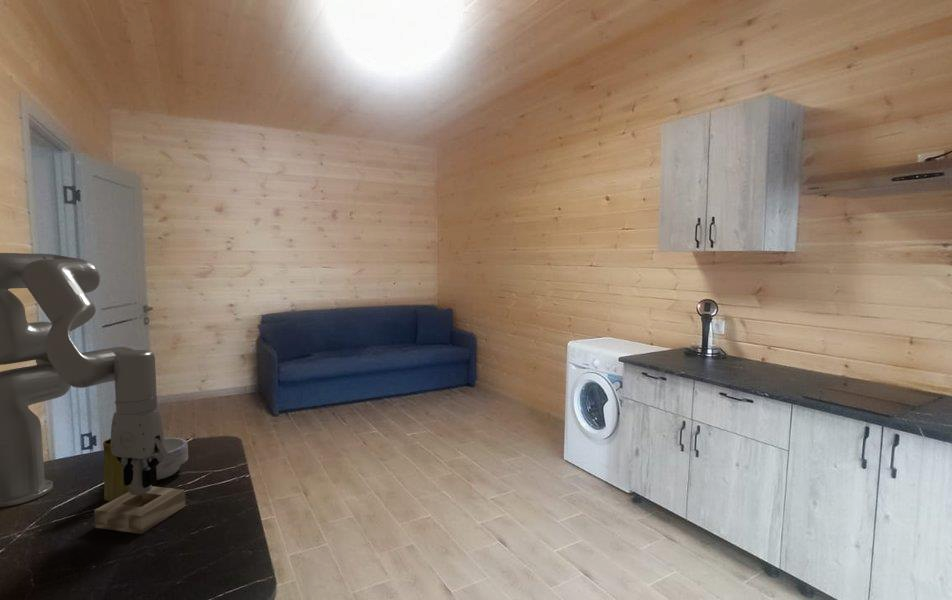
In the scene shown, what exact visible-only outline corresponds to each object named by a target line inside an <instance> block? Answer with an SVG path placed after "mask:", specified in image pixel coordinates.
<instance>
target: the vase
mask: <svg viewBox="0 0 952 600" xmlns="http://www.w3.org/2000/svg"><path fill="white" fill-rule="evenodd" d="M102 445H103V481H104V482H103V484H104V488H103V489H104V491H103V494H104V495H103V500H104V501H106V502H111V501H113V500H114V499H116V498H118V497H120V496H122V495H124V494H126V493H128V492H129V490H130V489H129V486H130V485H128V486H126V485H124V473H123V469H124V468H121V466H120V465H121V463H120V462H119V461H118V459H117V457H115V456H114V455H112V453H111V437H110V438H108V439H105V440H104V441H103V442H102Z"/></svg>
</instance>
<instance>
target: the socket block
mask: <svg viewBox="0 0 952 600" xmlns="http://www.w3.org/2000/svg"><path fill="white" fill-rule="evenodd" d="M185 507H186V490H185V489H179V488H173V487H172V488H170V487H161V486H153V485H152V488H151V490H150V491H149V492H146V493H144V494H140V495H132V494H130V493H129V492H128V493H126V494H124V495H122V496H120V497H118V498H116V499H114V500H113V501H108V502H107V503H104V504H103V505H101V506H100V507H98V508H96V509H94V528H95V529H104V530H112V531H118V532H125V533H126V532H127V533H132V534H140V535H141V534H144V533H145V532H147V531H148V530H151V528H153V527H155V526H157V525H158V524H160V523H161V522H163V521H164V520H166V519H168V518H170V516H172V515H174V514H175V513H177V512H178V511H180V510H182V509H183V508H185Z"/></svg>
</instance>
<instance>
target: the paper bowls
mask: <svg viewBox="0 0 952 600" xmlns="http://www.w3.org/2000/svg"><path fill="white" fill-rule="evenodd" d="M164 449H165V450H166V452H167V453H168V456H167V457H166V458H164V459H163V460H162V461H161V462H160V463H159V465H158V466H156V472H157V481H160V480H163V479H166V478H170V477H171V476H173V475H175V474H176V473H177V472H178V471H179V469H180V467H181V465H183V464H185V463H186V462H187V461H188V459H189V445H188V441H187V440H186V439H185V438H180V437H164ZM150 461H151V457H150V458H149V462H150Z"/></svg>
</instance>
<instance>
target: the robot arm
mask: <svg viewBox="0 0 952 600" xmlns="http://www.w3.org/2000/svg"><path fill="white" fill-rule="evenodd" d="M100 281H101V279H100V273H99V271H98V269H97V268H96V266H95V265H94V264H93V263H91V262H90V261H88V260H85V259H82V258H77V257H71V256H65V255H61V254H53V253H25V252H23V253H20V252H0V366H2V365H3V366H4V365H14V364H19V363H24V362H31V361H35V363H36V364H33V365H30V366H22V367H18V368H17V367H16V368H12V369H7V370H2V371H1V370H0V508H4V507H5V508H6V507H10V506H16V505H21V504H24V503H28V502H31V501H33V500H36V499H39V498H40V497H43V496H45V495H47V494H48V493H50V492H51V491H52V490H53V488H54V482H53V481H52V480H49V479H45V468H44V467H45V465H44V464H45V463H44V451H43V450H44V449H43V436H42V435H43V433H42V432H43V431H42V422H41V420H40V418H39V417H38V415H37V414H35V413H34V412H33V411H32V410H31V409H30V407H29V406H32V405H34V404H39V403H42V402H43V403H44V402H47V401H50V400H51V401H52V400H54V399H57V398H60V397H63V396H65V395H66V394H67V393H68V392H69V391H70V389H71V387H72V388H73V387H74V388H77V389H83V388H89V387H93V386H97V385H101V384H104V383H110V382H114V390H115V391H114V393H115V394H114V395H115V401H114V404H115V410H116V411H115V412H114V413H113V416H112V421H111V428H110V438H111V453H112V455H114V456H115V457H117V459H118V461H119V462H120V463H121V465H120V466H121V468H124V469H123V473H124V485H126V486H128V485H130V484H131V482H132V480H133V470H132V468H133V465H132V464H131V461H132V459H142V461H143V465H144V469H145V470H143V471H142V483H143V488H147V487H149V486H150V485H152V486H153V485H154V484H156V483H157V482H158V480H157V472H156V466H158V465H159V463H160V462H161V461H162V460H163V459H164V458H166V457H167V456H168V453H167V452H166V450H165V449H164V438H165V437H164V429H163V423H162V418H161V413H160V411H159V409H158V396H157V376H156V375H157V373H156V372H157V371H156V356H155V354H154V352H152V351H151V350H147V349H137V350H136V349H133V348H130V347H128V346H127V347H126V346H115V347H110V348H102V349H96V350H91V351H85V352H81V351H80V350H79V348H77V346H76V345H75V343H74V342H73V340H72V338H71V332H72V331H74V330H76V329H78V328H79V327H81V326H83V325H85V324H86V323H88V322H89V321H90V320H91V319H92V318H93V317H94V316H95V314H96V306H95V305H94V303H93V302H92V300H91V299H90V298H89V296H88V295H87V294H86V293H88V294H89V293H90V292H94V291H95V290H97V288H98V287H99V286H100V283H101V282H100ZM10 289H27V290H28V291H29V292H30V294H31V295H32V297H33V298H34V300H35V301H36V303H37V304H38V306H39V307H40V309H41V310H42V311H43V312H44V314H45V316H46V317H47V319H48V320H49V321H36V322H35V321H33V322H28V321H27V316H26V315H27V314H26V309H25V306H24V304H23V302H22V301H21V300H20V299H19V297H17V296H16V294H14V293H13V292H12V291H10ZM150 457H151V461H150V462H149V458H150Z"/></svg>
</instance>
